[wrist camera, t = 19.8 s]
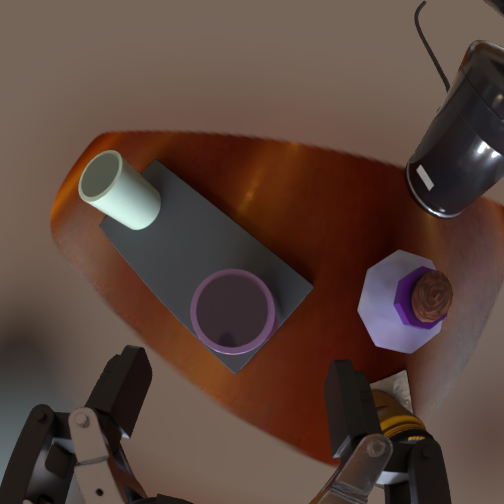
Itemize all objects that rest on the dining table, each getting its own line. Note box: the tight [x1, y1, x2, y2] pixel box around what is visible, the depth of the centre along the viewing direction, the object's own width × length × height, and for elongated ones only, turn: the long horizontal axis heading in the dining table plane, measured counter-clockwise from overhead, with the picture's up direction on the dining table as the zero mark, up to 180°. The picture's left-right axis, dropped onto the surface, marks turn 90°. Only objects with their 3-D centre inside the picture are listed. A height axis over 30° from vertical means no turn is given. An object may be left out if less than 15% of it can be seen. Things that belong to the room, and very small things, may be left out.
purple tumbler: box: [190, 268, 282, 355], centre depth 23 cm, size 6×6×9 cm
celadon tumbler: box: [79, 150, 161, 230], centre depth 28 cm, size 6×6×9 cm
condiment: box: [370, 370, 434, 489], centre depth 17 cm, size 7×8×12 cm
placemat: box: [99, 159, 314, 374], centre depth 30 cm, size 12×26×1 cm, turn 49°
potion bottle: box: [357, 250, 453, 354], centre depth 20 cm, size 9×9×12 cm
